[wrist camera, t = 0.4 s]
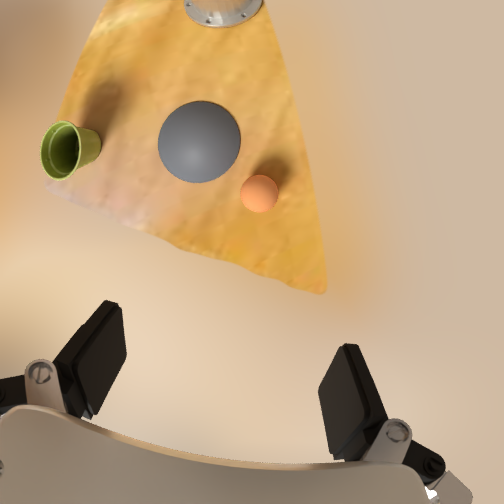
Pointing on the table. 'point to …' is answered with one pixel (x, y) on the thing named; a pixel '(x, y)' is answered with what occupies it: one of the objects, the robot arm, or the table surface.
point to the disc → (199, 142)
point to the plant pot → (67, 149)
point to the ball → (259, 193)
